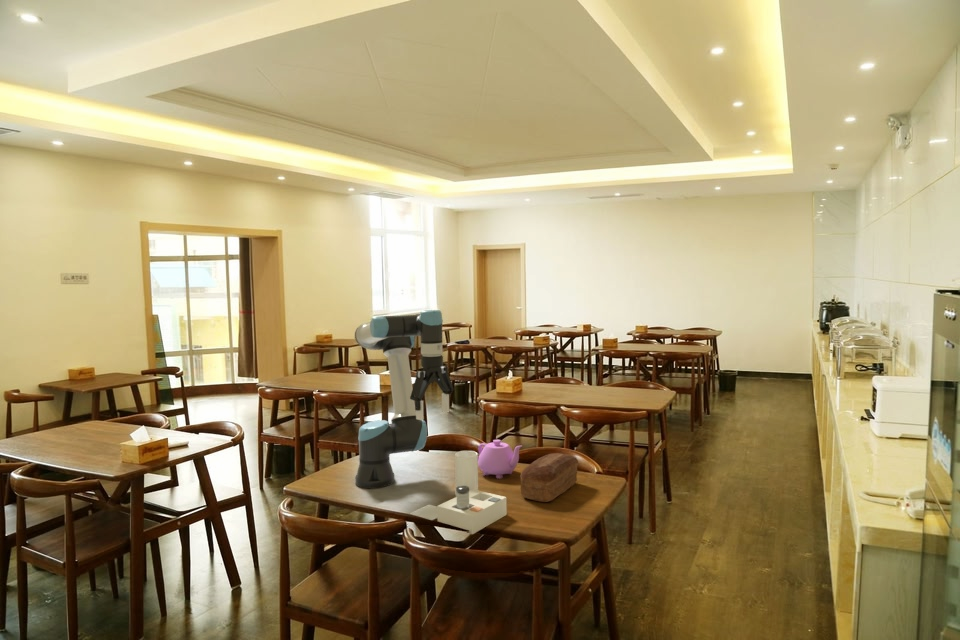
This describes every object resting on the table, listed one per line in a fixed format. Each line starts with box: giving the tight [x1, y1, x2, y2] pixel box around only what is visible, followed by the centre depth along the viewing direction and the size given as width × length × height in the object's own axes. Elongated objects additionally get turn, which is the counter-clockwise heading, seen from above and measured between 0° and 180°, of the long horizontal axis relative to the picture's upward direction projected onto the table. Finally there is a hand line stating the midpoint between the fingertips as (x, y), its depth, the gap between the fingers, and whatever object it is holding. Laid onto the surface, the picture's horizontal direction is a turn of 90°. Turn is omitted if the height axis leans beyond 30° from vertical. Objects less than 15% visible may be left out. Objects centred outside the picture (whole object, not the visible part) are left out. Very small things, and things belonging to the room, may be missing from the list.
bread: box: [520, 452, 579, 503], centre depth 225 cm, size 14×28×12 cm, turn 148°
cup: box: [454, 450, 479, 497], centre depth 220 cm, size 8×8×16 cm
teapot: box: [477, 439, 522, 480], centre depth 245 cm, size 22×16×14 cm
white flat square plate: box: [409, 504, 438, 521], centre depth 204 cm, size 10×10×1 cm
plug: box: [456, 486, 469, 511], centre depth 196 cm, size 4×4×12 cm
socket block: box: [437, 489, 508, 535], centre depth 200 cm, size 14×19×6 cm
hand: (433, 415), depth 211 cm, fingers open, 13 cm apart
